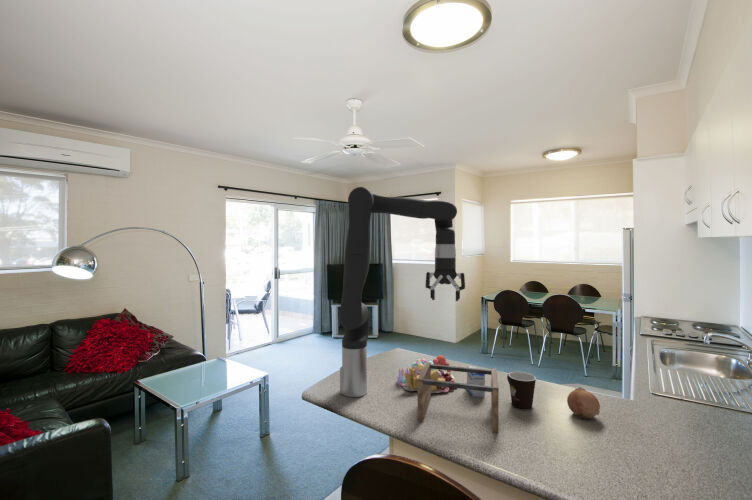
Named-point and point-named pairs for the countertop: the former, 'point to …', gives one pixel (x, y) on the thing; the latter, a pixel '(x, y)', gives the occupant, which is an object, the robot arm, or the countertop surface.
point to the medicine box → (476, 382)
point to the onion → (583, 403)
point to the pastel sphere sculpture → (411, 378)
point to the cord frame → (426, 383)
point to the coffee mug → (521, 389)
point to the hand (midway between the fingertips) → (445, 300)
